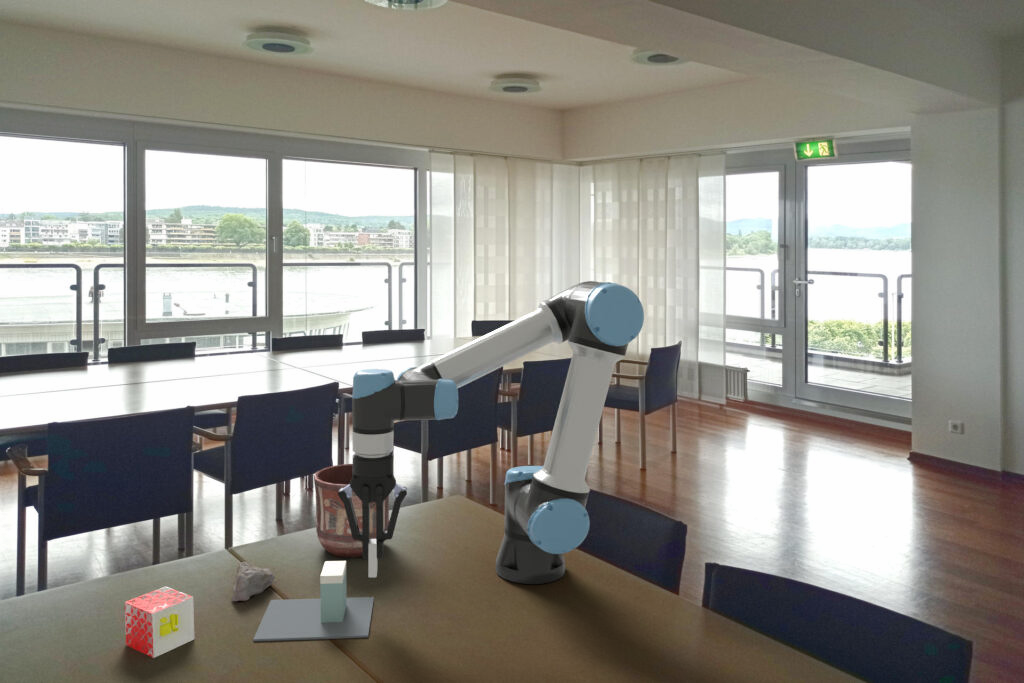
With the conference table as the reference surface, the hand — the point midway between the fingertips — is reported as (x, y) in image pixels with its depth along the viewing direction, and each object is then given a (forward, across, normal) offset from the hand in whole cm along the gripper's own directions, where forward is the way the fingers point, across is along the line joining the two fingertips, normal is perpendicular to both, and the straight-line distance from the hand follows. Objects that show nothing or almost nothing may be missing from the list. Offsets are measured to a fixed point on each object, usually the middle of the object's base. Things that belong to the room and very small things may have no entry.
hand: (372, 574), depth 150 cm
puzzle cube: (+8, +36, +8) cm, 38 cm away
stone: (+8, +26, -12) cm, 29 cm away
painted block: (+8, +7, 0) cm, 11 cm away
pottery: (+8, +7, -35) cm, 36 cm away
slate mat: (+8, +10, +1) cm, 13 cm away
